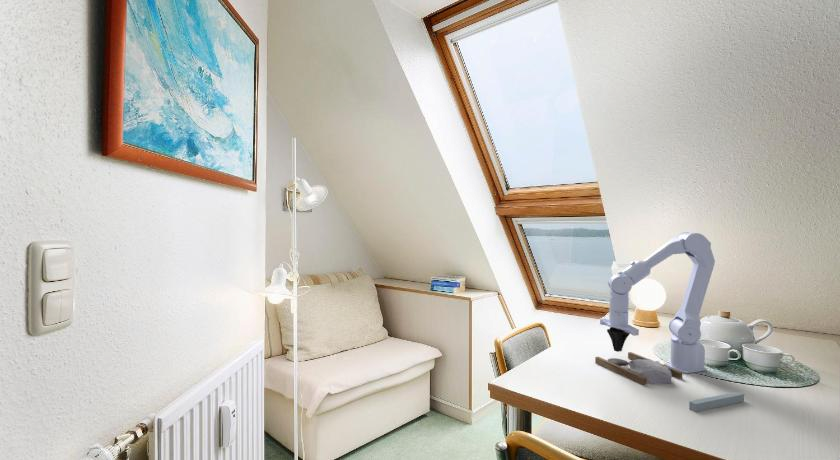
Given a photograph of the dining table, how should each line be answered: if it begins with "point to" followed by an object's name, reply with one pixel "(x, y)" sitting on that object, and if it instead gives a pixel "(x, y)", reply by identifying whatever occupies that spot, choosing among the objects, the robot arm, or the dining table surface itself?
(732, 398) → the stop bar
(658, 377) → the stone block
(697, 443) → the dining table surface
